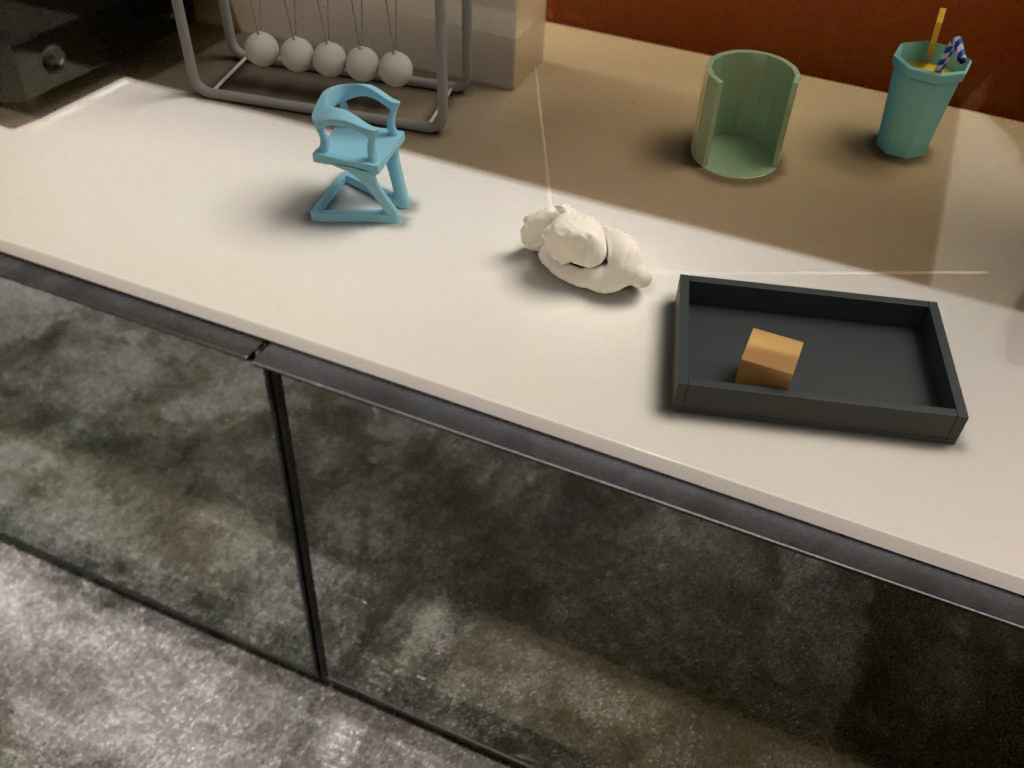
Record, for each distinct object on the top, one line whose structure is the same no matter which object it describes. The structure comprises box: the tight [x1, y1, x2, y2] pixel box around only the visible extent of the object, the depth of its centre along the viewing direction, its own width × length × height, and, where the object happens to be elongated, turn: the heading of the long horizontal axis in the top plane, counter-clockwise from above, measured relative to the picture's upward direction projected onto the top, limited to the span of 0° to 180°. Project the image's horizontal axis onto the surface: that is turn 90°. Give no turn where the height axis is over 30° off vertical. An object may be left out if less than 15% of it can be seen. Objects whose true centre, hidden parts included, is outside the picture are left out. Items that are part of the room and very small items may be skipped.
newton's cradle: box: [170, 0, 473, 134], centre depth 103 cm, size 30×10×18 cm, turn 76°
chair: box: [309, 83, 411, 224], centre depth 90 cm, size 8×8×12 cm
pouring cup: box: [690, 49, 802, 180], centre depth 99 cm, size 9×9×10 cm
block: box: [735, 328, 804, 390], centre depth 75 cm, size 4×4×4 cm
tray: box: [671, 273, 970, 445], centre depth 78 cm, size 22×14×3 cm, turn 82°
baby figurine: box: [519, 203, 653, 295], centre depth 85 cm, size 9×12×8 cm
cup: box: [875, 7, 973, 160], centre depth 98 cm, size 14×8×15 cm, turn 173°
